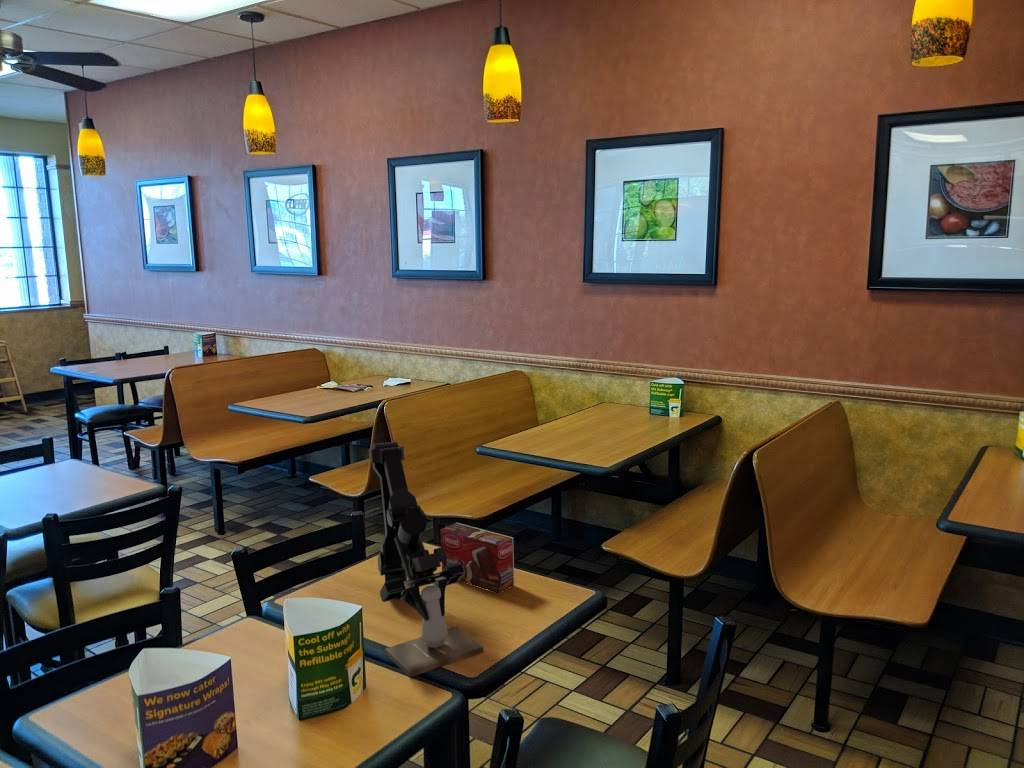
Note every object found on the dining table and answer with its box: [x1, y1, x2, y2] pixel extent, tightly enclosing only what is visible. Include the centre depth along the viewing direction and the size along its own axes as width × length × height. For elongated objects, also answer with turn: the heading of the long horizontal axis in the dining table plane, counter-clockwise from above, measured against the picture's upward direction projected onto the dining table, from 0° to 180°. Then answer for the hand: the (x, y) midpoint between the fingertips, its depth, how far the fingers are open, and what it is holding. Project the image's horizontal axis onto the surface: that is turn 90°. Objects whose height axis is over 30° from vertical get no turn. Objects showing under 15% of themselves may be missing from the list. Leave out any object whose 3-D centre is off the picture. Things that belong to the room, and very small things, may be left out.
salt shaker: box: [420, 585, 448, 648], centre depth 171 cm, size 6×6×13 cm
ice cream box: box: [439, 522, 515, 594], centre depth 207 cm, size 20×6×13 cm, turn 52°
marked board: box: [384, 625, 485, 678], centre depth 171 cm, size 18×12×1 cm, turn 124°
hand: (435, 617), depth 169 cm, fingers closed on salt shaker, 3 cm apart
